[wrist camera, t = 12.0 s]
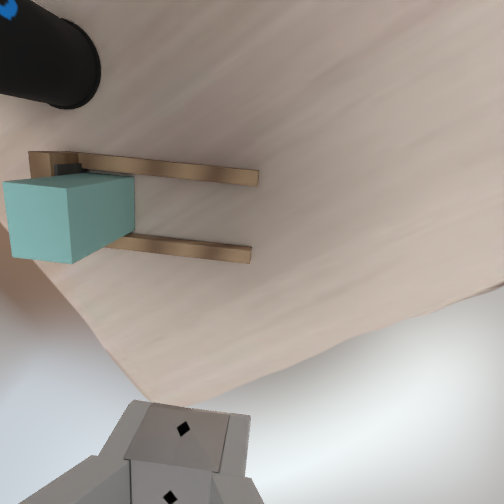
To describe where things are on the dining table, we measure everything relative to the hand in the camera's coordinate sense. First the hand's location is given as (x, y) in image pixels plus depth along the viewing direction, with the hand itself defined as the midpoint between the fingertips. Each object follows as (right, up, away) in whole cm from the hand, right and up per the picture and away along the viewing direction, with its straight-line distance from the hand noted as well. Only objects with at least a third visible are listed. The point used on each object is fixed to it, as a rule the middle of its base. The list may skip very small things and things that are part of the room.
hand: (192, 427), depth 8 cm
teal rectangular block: (-14, +10, +29) cm, 33 cm away
